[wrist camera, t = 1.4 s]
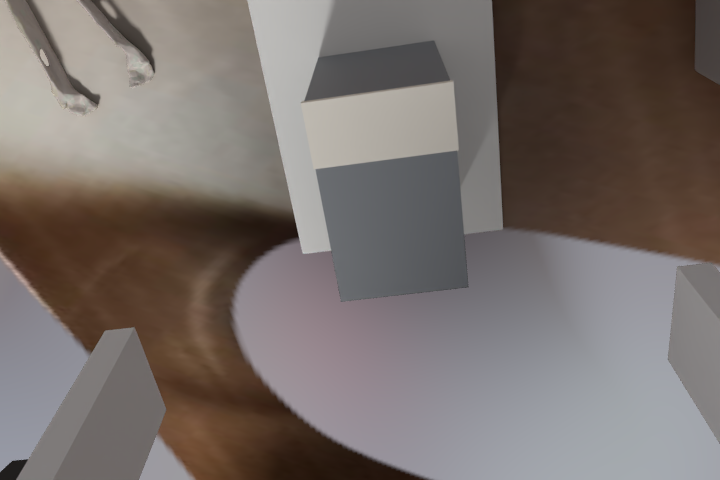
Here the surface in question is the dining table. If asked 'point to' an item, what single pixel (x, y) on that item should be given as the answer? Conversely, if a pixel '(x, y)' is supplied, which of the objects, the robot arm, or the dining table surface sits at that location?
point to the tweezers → (59, 82)
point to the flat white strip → (373, 31)
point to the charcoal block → (388, 170)
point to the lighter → (708, 39)
